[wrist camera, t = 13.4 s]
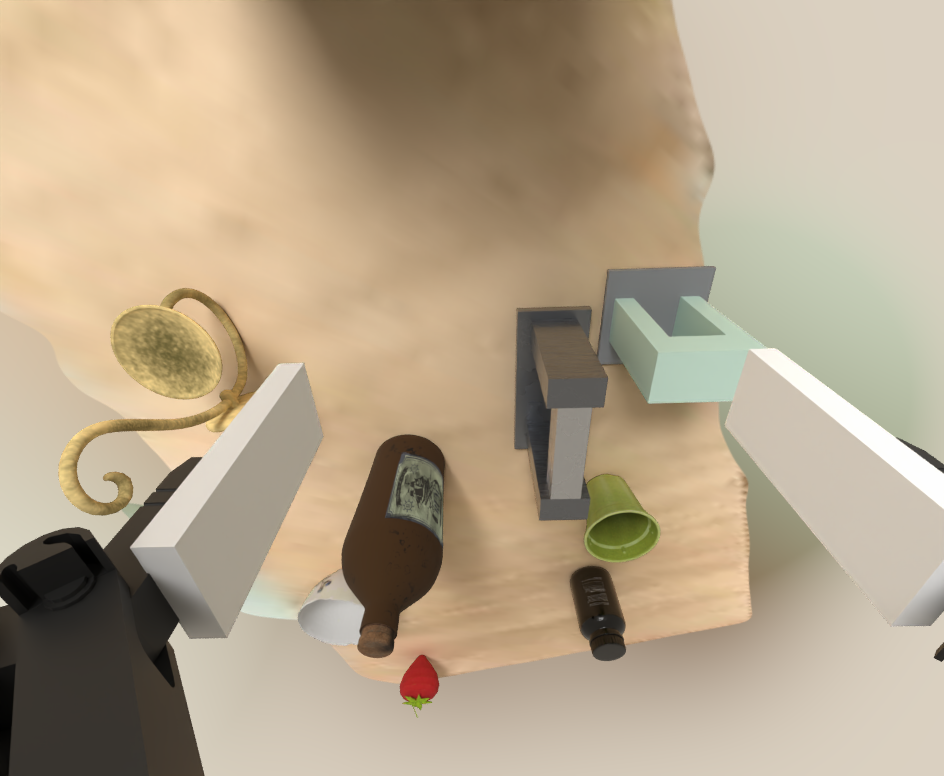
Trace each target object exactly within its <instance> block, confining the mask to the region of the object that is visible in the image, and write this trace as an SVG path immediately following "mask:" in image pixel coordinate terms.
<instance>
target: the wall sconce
mask: <svg viewBox="0 0 944 776" xmlns="http://www.w3.org/2000/svg"><path fill="white" fill-rule="evenodd" d="M183 298H193V299H196V300H198V301H200V302H201V303H203V304H204V305H206V306H207V307H208V308H209V309H210V310H211V311H212V312H213V313H214V314H215V315H216V316H217V318H218V319H219V320H220V322H221V323H222V324H223V326H224V327H225V329H226V331H227V332H228V334H229V336H230V338H231V341H232V343H233V346H234V349H235V352H236V356H237V362H238V376H237V381H236V383H235V385H234V387H233V389H232V390H224V391H222V392H221V393H220V398H221V400H222V401H221V402H220V403H219V404H218V405H216V406H215V407H213V408H212V409H209V410H207V411H205V412H203V413H200V414H197V415H194V416H190V417H185V418H179V419H120V420H109V421H103V422H99V423H96V424H93V425H90V426H88V427H86V428H85V429H83V430H81V431H80V432H79V433H77V434H76V435H75V436H74V437H73V438H72V439H71V440H70V442H69V443H68V444H67V446H66V448H65V449H64V451H63V453H62V456H61V459H60V462H59V472H58V476H59V481H60V485H61V488H62V490H63V492H64V494H65V496H66V497H67V498H68V500H69V501H70V502H71V503H72V504H73V505H74V506H76V507H77V508H78V509H80V510H81V511H84V512H86V513H89V514H92V515H109V514H113V513H116V512H118V511H120V510H121V509H123V508H124V507H126V506H127V504H128V503H129V501H130V500H131V498H132V494H133V485H132V482H131V479H130V478H129V477H128V476H126V475H125V474H124V473H119V472H109V473H107V474H105V475H104V477H103V480H104V481H112V482H114V483H116V485H117V486H118V490H119V492H118V497H117V498H116V499H115V500H114V501H113V502H110V503H101V502H97V501H95V500H93V499H91V498H90V497H89V496H88V495H87V494H86V493H85V491H84V490H83V489H82V487H81V485H80V483H79V480H78V477H77V462H78V459H79V456H80V454H81V452H82V451H83V449H84V448H85V446H86V445H87V444H88V443H89V442H90V441H91V440H93V439H94V438H96V437H98V436H100V435H103V434H106V433H112V432H120V431H162V430H175V429H183V428H188V427H192V426H195V425H199V424H202V423H204V422H206V427H207V429H208V430H209V431H211V432H222V431H225V429H226V428H227V427H228V426H229V424H230V423H231V422H232V421H233V419H234V418H235V417H236V416H237V415H238V413H239V412H240V411H241V410H242V408H243V407H244V406H245V405H246V403H247V402H248V401H249V400H250V398H251V397H252V396H253V395H254V393H255V392H251V393H247V394H244V395H241V396H239V395H240V394H241V392H242V390H243V388H244V386H245V384H246V379H247V360H246V354H245V350H244V347H243V344H242V341H241V339H240V336H239V334H238V332H237V330H236V328H235V327H234V325H233V323H232V322H231V320H230V319H229V317H228V316H227V315H226V313H225V312H224V311H223V310H222V308H221V307H220V306H219V305H218V304H217V303H216V302H215V301H214V300H212V299H211V298H210V297H208V296H207V295H205V294H204V293H202V292H200V291H197V290H194V289H189V288H182V289H178V290H175V291H173V292H172V293H170V294H169V295H167V296H166V297H165V298H164V300H163V301H162V303H161V305H160V306H157V305H140V306H135V307H132V308H129V309H127V310H125V311H124V312H122V313H121V314H120V315H119V316H118V317H117V318H116V319H115V321H114V323H113V325H112V328H111V335H110V338H111V345H112V349H113V352H114V354H115V356H116V358H117V360H118V362H119V363H120V365H121V366H122V367H123V369H124V370H125V371H126V372H127V373H128V374H129V375H130V376H131V377H132V378H133V379H134V380H136V381H137V382H138V383H139V384H141V385H142V386H144V387H145V388H147V389H149V390H151V391H153V392H155V393H157V394H160V395H163V396H166V397H170V398H175V399H195V398H199V397H202V396H204V395H206V394H208V393H209V392H211V391H212V390H213V389H214V388H215V387H216V386H217V384H218V383H219V381H220V378H221V374H222V359H221V356H220V353H219V350H218V348H217V346H216V344H215V342H214V341H213V340H212V338H211V337H210V335H209V334H208V333H207V332H206V331H205V330H204V329H203V328H202V327H201V326H200V325H199V324H197V323H196V322H195V321H194V320H192V319H191V318H189V317H187V316H186V315H184V314H182V313H180V312H178V311H175V310H173V309H172V308H173V306H174V305H175V304H176V303H177V302H178V301H179V300H181V299H183Z"/></svg>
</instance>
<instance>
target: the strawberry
mask: <svg viewBox="0 0 944 776" xmlns="http://www.w3.org/2000/svg"><path fill="white" fill-rule="evenodd" d="M438 687H439V681H438V676H437V673H436V671H435V670H434V668H433V667H432V665H431V664H430V662H429V661H428V660H427V659H426V657H425V656H424V655H420V656H418V657H417V659H416V660H415V661H414V662H413V663H412V665H411V666H410V667H409V669H408V670H407V671H406V673H405V674H404V676H403V679H402V681H401V684H400V694H401V695H402V697H403V698H404V699H405V700H407V701H409V702H404V703H403V704H409V705H412V706H414V707H418V708H419V709H420V710H421V708H422V705H421V704H426V703H432V702H430V701H428V700H430V699H432V698H433V697H434V696H435V695H436V693H437V692H438ZM416 716H417V714H416Z"/></svg>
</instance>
